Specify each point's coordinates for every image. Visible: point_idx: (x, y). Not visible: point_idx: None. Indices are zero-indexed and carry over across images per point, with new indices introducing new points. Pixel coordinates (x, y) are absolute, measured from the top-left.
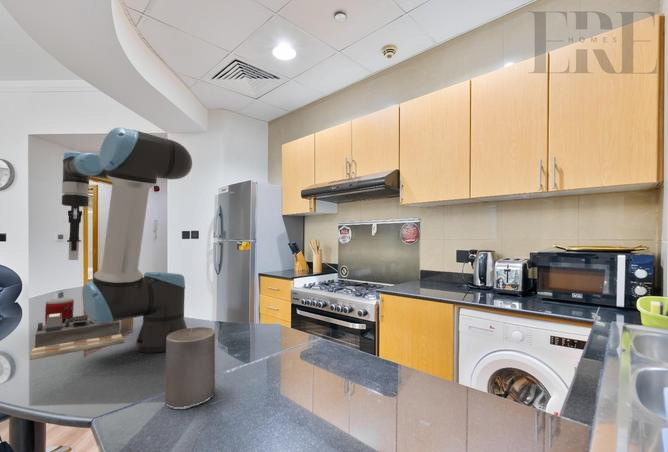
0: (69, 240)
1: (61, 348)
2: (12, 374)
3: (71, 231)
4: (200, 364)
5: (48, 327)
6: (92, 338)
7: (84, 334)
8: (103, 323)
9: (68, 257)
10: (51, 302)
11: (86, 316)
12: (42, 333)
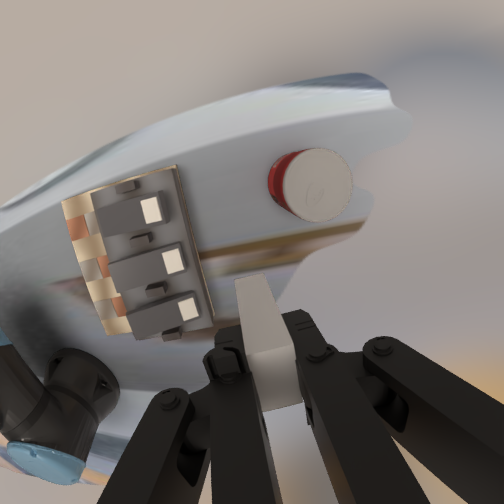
0: (208, 376)
1: (79, 242)
2: (15, 204)
3: (121, 475)
4: None
5: (98, 214)
6: None
7: None
8: None
9: (260, 280)
10: (288, 168)
11: (116, 290)
12: (93, 204)
